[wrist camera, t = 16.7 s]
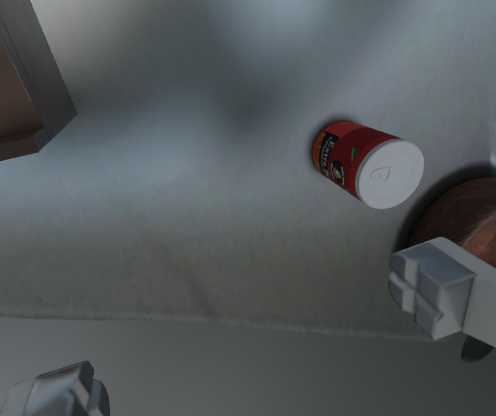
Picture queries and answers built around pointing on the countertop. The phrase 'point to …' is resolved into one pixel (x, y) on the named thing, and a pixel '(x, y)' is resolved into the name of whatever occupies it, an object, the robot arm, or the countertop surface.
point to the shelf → (28, 84)
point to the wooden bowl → (463, 219)
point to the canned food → (369, 163)
